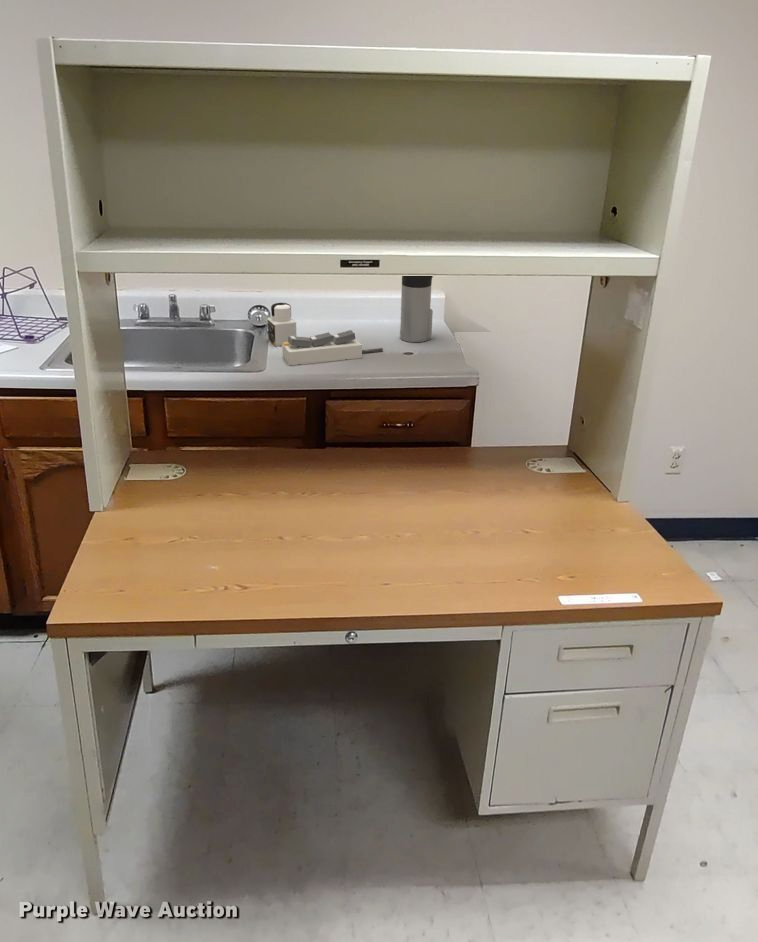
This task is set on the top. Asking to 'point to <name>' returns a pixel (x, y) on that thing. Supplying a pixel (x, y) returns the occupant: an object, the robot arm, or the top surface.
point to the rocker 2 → (343, 337)
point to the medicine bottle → (280, 324)
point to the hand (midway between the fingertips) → (334, 248)
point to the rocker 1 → (299, 341)
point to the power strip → (324, 352)
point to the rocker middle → (321, 339)
